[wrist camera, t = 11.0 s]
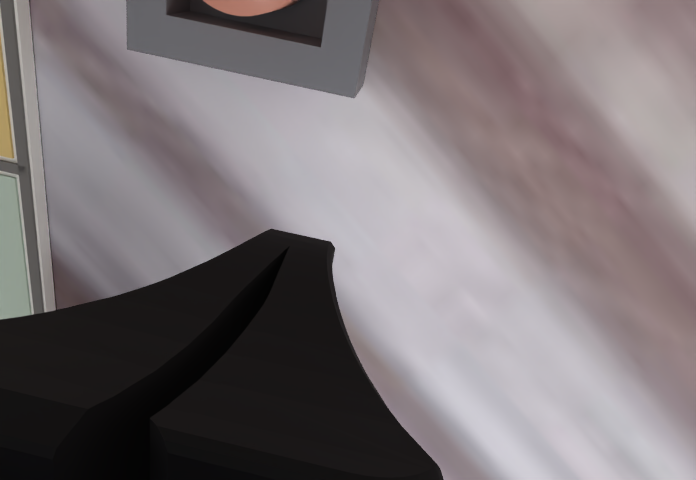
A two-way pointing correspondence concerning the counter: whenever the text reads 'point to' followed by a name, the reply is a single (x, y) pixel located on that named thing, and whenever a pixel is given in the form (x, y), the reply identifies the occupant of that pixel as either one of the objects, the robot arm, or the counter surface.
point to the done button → (249, 6)
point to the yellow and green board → (21, 174)
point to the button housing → (262, 40)
